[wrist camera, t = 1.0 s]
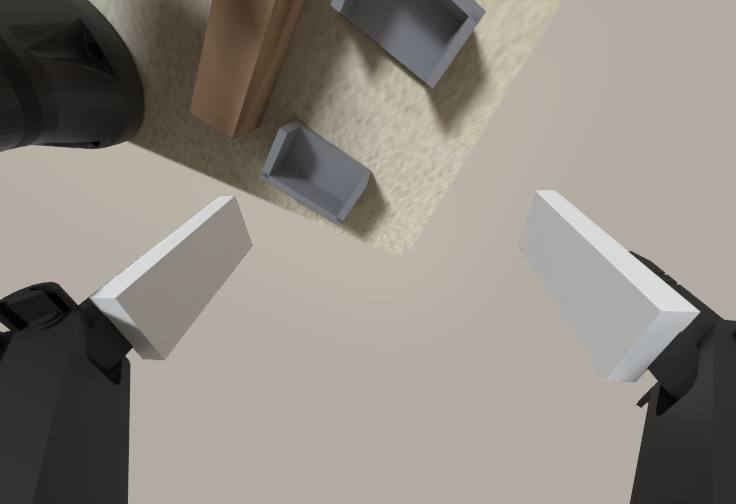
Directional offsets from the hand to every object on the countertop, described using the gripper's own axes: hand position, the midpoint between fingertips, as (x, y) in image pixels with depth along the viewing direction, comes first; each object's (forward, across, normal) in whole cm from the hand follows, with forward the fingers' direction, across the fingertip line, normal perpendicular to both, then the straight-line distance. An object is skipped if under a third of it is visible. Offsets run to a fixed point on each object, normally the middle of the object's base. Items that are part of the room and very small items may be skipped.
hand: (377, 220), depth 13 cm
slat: (+20, -11, +8) cm, 25 cm away
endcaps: (+20, -3, +2) cm, 20 cm away
